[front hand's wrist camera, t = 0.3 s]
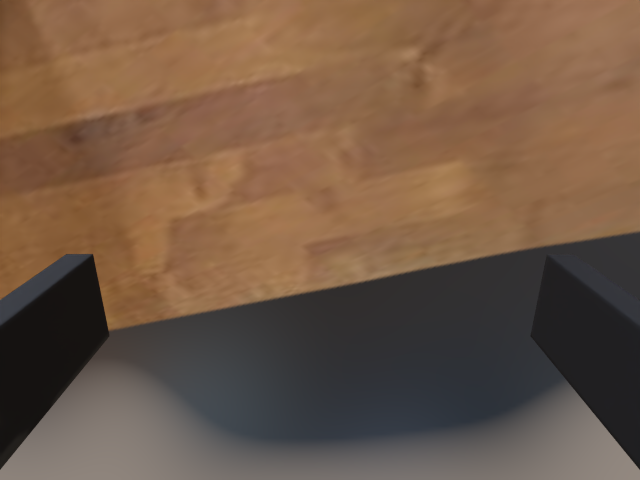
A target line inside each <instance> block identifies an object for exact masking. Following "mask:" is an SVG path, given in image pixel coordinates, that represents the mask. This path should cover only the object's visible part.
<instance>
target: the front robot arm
mask: <svg viewBox="0 0 640 480" xmlns="http://www.w3.org/2000/svg"><path fill="white" fill-rule="evenodd" d="M108 337H109V331H108V326H107V321H106V316H105V312H104V307H103V302H102V297H101V292H100V287H99V282H98V277H97V272H96V267H95V262H94V257H93V254H66V255H65V256H63V257H62V258H60V259H59V260H57V261H56V262H54V263H53V264H52V265H50V266H49V267H47V268H46V269H44V270H43V271H42V272H40V273H39V274H37V275H36V276H34V277H33V278H31V279H30V280H29V281H27V282H26V283H24V284H23V285H21V286H20V287H18V288H17V289H16V290H14V291H13V292H11V293H10V294H8V295H7V296H5V297H4V298H3V299H1V300H0V469H1V468H2V467H3V466H4V464H5V463H6V462H7V461H8V459H9V458H10V457H11V456H12V455H13V453H14V452H15V451H16V450H17V448H18V447H19V446H20V445H21V444H22V442H23V441H24V440H25V439H26V437H27V436H28V435H29V434H30V433H31V431H32V430H33V429H34V428H35V426H36V425H37V424H38V423H39V421H40V420H41V419H42V418H43V417H44V415H45V414H46V413H47V412H48V411H49V409H50V408H51V407H52V406H53V404H54V403H55V402H56V401H57V399H58V398H59V397H60V396H61V395H62V393H63V392H64V391H65V390H66V388H67V387H68V386H69V385H70V384H71V382H72V381H73V380H74V379H75V377H76V376H77V375H78V374H79V373H80V371H81V370H82V369H83V368H84V366H85V365H86V364H87V363H88V362H89V360H90V359H91V358H92V357H93V355H94V354H95V353H96V352H97V351H98V349H99V348H100V347H101V346H102V344H103V343H104V342H105V341H106V340H107V338H108ZM531 337H532V338H533V340H534V341H535V342H536V343H537V344H538V346H539V347H540V348H541V349H542V351H543V352H544V353H545V354H546V355H547V357H548V358H549V359H550V360H551V362H552V363H553V364H554V365H555V366H556V368H557V369H558V370H559V371H560V373H561V374H562V375H563V376H564V377H565V379H566V380H567V381H568V382H569V384H570V385H571V386H572V387H573V389H574V390H575V391H576V392H577V393H578V395H579V396H580V397H581V398H582V400H583V401H584V402H585V403H586V404H587V406H588V407H589V408H590V409H591V411H592V412H593V413H594V414H595V415H596V417H597V418H598V419H599V420H600V422H601V423H602V424H603V425H604V426H605V428H606V429H607V430H608V431H609V433H610V434H611V435H612V436H613V437H614V439H615V440H616V441H617V442H618V444H619V445H620V446H621V447H622V448H623V450H624V451H625V452H626V453H627V455H628V456H629V457H630V458H631V459H632V461H633V462H634V463H635V464H636V466H637V467H638V468H639V469H640V300H639V299H637V298H636V297H635V296H633V295H632V294H630V293H629V292H627V291H626V290H624V289H623V288H621V287H620V286H619V285H617V284H616V283H614V282H613V281H611V280H610V279H609V278H607V277H606V276H604V275H603V274H601V273H600V272H598V271H597V270H596V269H594V268H593V267H591V266H590V265H588V264H587V263H585V262H584V261H583V260H581V259H580V258H578V257H577V256H575V255H574V254H547V257H546V262H545V267H544V272H543V277H542V282H541V287H540V292H539V297H538V302H537V307H536V312H535V317H534V321H533V326H532V332H531Z"/></svg>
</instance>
